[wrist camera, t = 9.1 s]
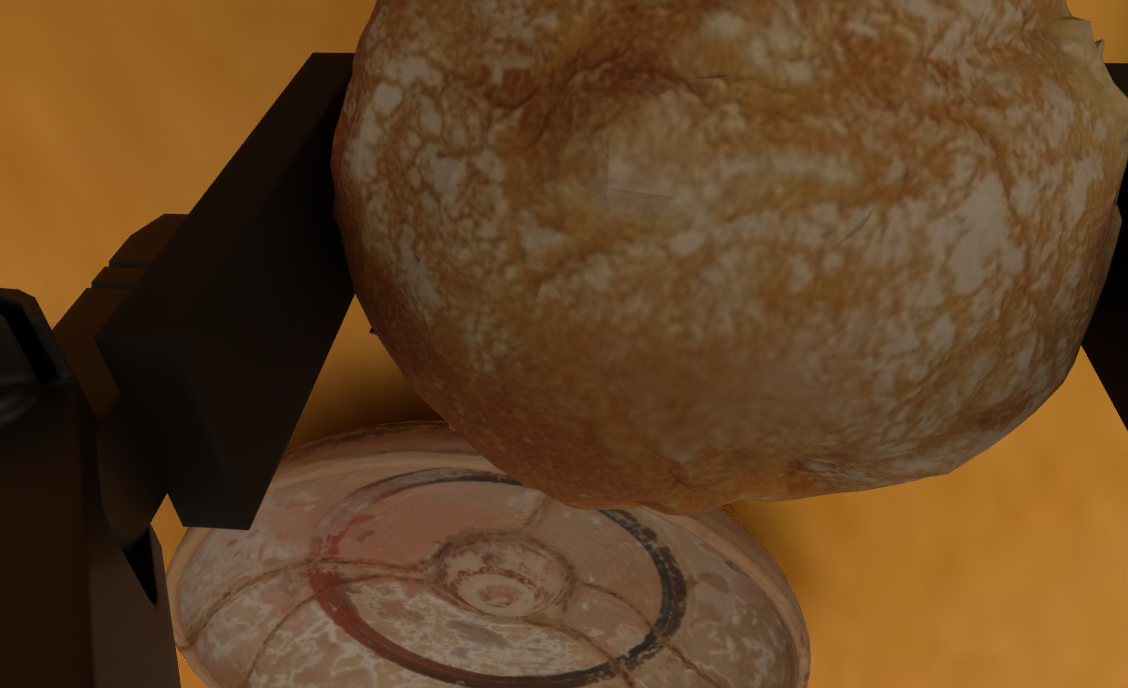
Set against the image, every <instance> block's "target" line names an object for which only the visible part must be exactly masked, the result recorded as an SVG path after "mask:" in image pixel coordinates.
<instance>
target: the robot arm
mask: <svg viewBox="0 0 1128 688" xmlns="http://www.w3.org/2000/svg"><path fill="white" fill-rule="evenodd" d="M354 55H355V53H312V54H311V56H310V57H309V58H308V60H307V61H306V62H305V63H304V65H303V66H302V67H301V69H300V70H299V71H298V73H297V74H296V75H295V76H294V78H293V79H292V80H291V82H290V83H289V84H288V86H287V87H286V88H285V90H284V91H283V92H282V93H281V95H280V96H279V97H278V99H277V100H276V101H275V103H274V104H273V105H272V106H271V108H270V109H269V110H268V112H267V113H266V114H265V116H264V117H263V118H262V119H261V121H260V122H259V123H258V125H257V126H256V127H255V129H254V130H253V131H252V132H251V134H250V135H249V136H248V138H247V139H246V140H245V142H244V143H243V144H242V145H241V147H240V148H239V149H238V151H237V152H236V153H235V155H234V156H233V157H232V158H231V160H230V161H229V162H228V164H227V165H226V166H225V168H224V169H223V170H222V172H221V173H220V174H219V175H218V177H217V178H216V179H215V181H214V182H213V183H212V185H211V186H210V187H209V188H208V190H207V191H206V192H205V194H204V195H203V196H202V198H201V199H200V200H199V201H198V203H197V204H196V205H195V207H194V208H193V209H192V211H191V212H190V213H189V214H163V215H162V216H160V217H159V218H157V219H156V220H154V221H153V222H151V223H149V224H148V225H146V226H145V227H143V228H142V229H140V230H138V231H137V232H135V233H134V234H132V235H131V236H130V237H129V238H128V239H127V240H126V242H125V243H124V244H123V245H122V246H121V248H120V249H119V250H118V251H117V252H116V254H115V255H114V256H113V257H112V258H111V260H110V261H109V267H104V268H103V269H102V270H101V272H100V273H99V274H98V275H97V276H96V278H95V279H94V280H93V281H92V282H91V283H92V287H91V288H86V290H85V291H84V292H83V293H82V294H81V296H80V297H79V298H78V299H77V300H76V302H75V303H74V304H73V305H72V306H71V308H70V309H69V310H68V311H67V312H66V314H65V315H64V316H63V317H62V318H61V320H60V321H59V322H58V323H57V324H56V326H55V327H54V328H53V329H52V330H51V328H50V326H49V324H48V322H47V320H46V318H45V316H44V314H43V312H42V310H41V308H40V306H39V304H38V302H37V300H36V299H35V297H33V296H31V295H29V294H27V293H24V292H22V291H20V290H18V289H6V288H0V688H181V683H180V676H179V669H178V662H177V655H176V648H175V641H174V634H173V627H172V619H171V612H170V605H169V598H168V591H167V584H166V577H165V570H164V563H163V556H162V548H161V545H160V542H159V540H158V538H157V536H156V534H155V532H154V530H153V528H152V526H151V524H150V523H151V521H152V519H153V517H154V516H155V514H156V512H157V510H158V508H159V507H160V505H161V503H162V501H163V499H164V498H165V496H166V494H167V493H168V495H169V497H170V499H171V501H172V504H173V506H174V508H175V510H176V512H177V514H178V516H179V518H180V520H181V523H182V525H183V526H185V527H201V528H218V529H235V530H250V528H251V525H252V523H253V521H254V519H255V516H256V514H257V512H258V510H259V507H260V505H261V503H262V501H263V498H264V496H265V494H266V492H267V489H268V487H269V485H270V483H271V481H272V478H273V476H274V474H275V472H276V469H277V467H278V465H279V463H280V460H281V458H282V456H283V454H284V451H285V449H286V447H287V445H288V442H289V440H290V438H291V436H292V433H293V431H294V429H295V427H296V425H297V422H298V420H299V418H300V416H301V413H302V411H303V409H304V407H305V404H306V402H307V400H308V398H309V395H310V393H311V391H312V389H313V386H314V384H315V382H316V380H317V377H318V375H319V373H320V371H321V369H322V366H323V364H324V362H325V360H326V357H327V355H328V353H329V351H330V348H331V346H332V344H333V342H334V339H335V337H336V335H337V333H338V330H339V328H340V326H341V324H342V321H343V319H344V317H345V315H346V313H347V310H348V308H349V306H350V304H351V301H352V299H353V297H354V295H355V292H354V289H353V285H352V281H351V277H350V273H349V269H348V265H347V261H346V257H345V253H344V249H343V244H342V239H341V234H340V229H339V226H338V224H337V222H336V220H335V218H334V216H333V214H332V213H333V202H334V184H333V178H332V173H331V167H330V163H331V153H332V144H333V137H334V133H335V130H336V127H337V123H338V120H339V116H340V113H341V110H342V106H343V103H344V99H345V95H346V91H347V87H348V84H349V82H350V79H351V77H352V74H353V58H354ZM1104 64H1105V66H1106V68H1107V70H1108V72H1109V74H1110V76H1111V79H1112V81H1113V83H1114V84H1115V85H1116V86H1117V87H1118V88H1119V89H1120V90H1121V91H1122V92H1123V93H1124V94H1125V96H1126V97H1127V98H1128V63H1104ZM1117 205H1118V209H1119V212H1120V216H1121V219H1122V223H1121V227H1120V231H1119V235H1118V239H1117V243H1116V247H1115V250H1114V254H1113V257H1112V261H1111V264H1110V268H1109V271H1108V275H1107V278H1106V281H1105V284H1104V286H1103V289H1102V292H1101V294H1100V297H1099V300H1098V302H1097V305H1096V308H1095V310H1094V313H1093V315H1092V318H1091V321H1090V323H1089V326H1088V328H1087V330H1086V333H1085V335H1084V338H1083V341H1082V343H1081V345H1082V347H1083V349H1084V351H1085V353H1086V355H1087V357H1088V358H1089V360H1090V362H1091V364H1092V366H1093V368H1094V369H1095V371H1096V373H1097V375H1098V377H1099V379H1100V381H1101V382H1102V384H1103V386H1104V388H1105V390H1106V392H1107V394H1108V395H1109V397H1110V399H1111V401H1112V403H1113V405H1114V406H1115V408H1116V410H1117V412H1118V414H1119V416H1120V418H1121V419H1122V421H1123V423H1124V425H1125V427H1126V429H1127V431H1128V159H1127V164H1126V168H1125V172H1124V175H1123V178H1122V182H1121V186H1120V190H1119V195H1118V199H1117Z"/></svg>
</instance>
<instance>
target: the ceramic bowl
mask: <svg viewBox="0 0 1128 688" xmlns="http://www.w3.org/2000/svg"><path fill="white" fill-rule="evenodd" d="M165 577H166V584H167V591H168V598H169V605H170V612H171V619H172V627H173V634H174V641H175V645H176V646H177V648H178V650H179V651H180V652H181V654H182V655H183V656H184V658H185V659H186V661H187V663H188V664H189V666H190V667H191V669H192V670H193V671H194V673H195V674H196V675H197V676H198V677H199V678H200V679H201V680H202V681H203V682H204V683H205V684H206V685H207V686H208V687H209V688H807V685H808V680H809V674H810V660H811V653H810V641H809V634H808V631H807V627H806V623H805V620H804V617H803V614H802V611H801V608H800V606H799V603H798V601H797V599H796V597H795V595H794V593H793V591H792V589H791V586H790V584H789V582H788V580H787V579H786V577H785V575H784V574H783V572H782V571H781V569H780V568H779V566H778V564H777V563H776V562H775V561H774V559H773V558H772V557H771V556H770V555H769V554H768V552H767V551H766V550H765V549H764V548H763V547H762V545H761V544H760V543H759V542H758V541H757V540H756V539H755V538H754V537H753V536H752V535H751V534H750V533H749V532H748V531H747V530H745V529H744V528H743V527H742V526H741V525H740V524H739V523H737V522H736V521H735V520H734V519H733V518H732V517H730V516H729V515H728V514H727V513H726V512H725V511H724V510H722V509H721V508H720V507H718V508H715V509H713V510H710V511H708V512H706V513H703V514H701V515H688V516H675V515H667V514H663V513H661V512H659V511H656V510H654V509H651V508H649V507H644V508H636V509H628V510H622V509H606V510H588V509H575V508H572V507H569V506H567V505H565V504H563V503H560V502H558V501H556V500H554V499H551V498H550V497H548V496H547V495H546V494H544V493H543V492H541V491H539V490H535V489H529V488H527V487H526V486H524V485H523V484H522V483H520V482H519V481H517V480H516V479H515V478H513V477H512V476H511V475H509V474H507V473H505V472H503V471H501V470H499V469H498V468H496V467H495V466H494V465H493V464H491V463H490V462H489V461H488V460H487V459H485V458H484V457H483V456H482V455H481V454H480V453H478V452H477V451H476V450H475V449H474V448H473V447H472V446H471V445H470V444H469V443H468V442H467V441H466V440H464V439H463V438H462V437H461V436H460V435H459V434H458V433H457V432H456V431H454V430H452V429H449V424H448V423H447V422H446V421H443V420H436V421H407V422H397V423H387V424H381V425H375V426H369V427H362V428H356V429H352V430H348V431H344V432H340V433H336V434H332V435H328V436H324V437H320V438H317V439H315V440H312V441H309V442H307V443H304V444H301V445H299V446H296V447H294V448H291V449H288V450H286V451H284V454H283V456H282V458H281V460H280V463H279V465H278V467H277V469H276V472H275V474H274V476H273V478H272V481H271V483H270V485H269V487H268V489H267V492H266V494H265V496H264V498H263V501H262V503H261V505H260V507H259V510H258V512H257V514H256V516H255V519H254V521H253V523H252V525H251V528H250V530H235V529H218V528H201V527H189V529H188V530H187V532H186V533H185V535H184V537H183V539H182V541H181V543H180V544H179V546H178V548H177V550H176V552H175V554H174V556H173V558H172V560H171V562H170V564H169V566H168V569H167V571H166V575H165Z"/></svg>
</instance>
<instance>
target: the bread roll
mask: <svg viewBox="0 0 1128 688" xmlns="http://www.w3.org/2000/svg"><path fill="white" fill-rule="evenodd" d="M1071 15H1072V14H1071V13H1070V12H1069V10H1068V8H1067V4H1066V0H377V2H376V5H375V7H374V10H373V12H372V15H371V17H370V20H369V21H368V23H367V25H366V27H365V29H364V31H363V33H362V34H361V36H360V39H359V43H358V46H357V49H356V52H355V55H354V58H353V74H352V77H351V79H350V82H349V84H348V87H347V91H346V95H345V99H344V103H343V106H342V110H341V113H340V116H339V120H338V123H337V127H336V130H335V133H334V137H333V144H332V153H331V163H330V167H331V173H332V178H333V184H334V202H333V213H332V214H333V216H334V218H335V220H336V222H337V224H338V226H339V229H340V234H341V239H342V244H343V249H344V253H345V257H346V261H347V265H348V269H349V273H350V277H351V281H352V285H353V289H354V292H355V294H356V296H357V298H358V300H359V302H360V304H361V306H362V308H363V310H364V312H365V314H366V316H367V318H368V320H369V323H370V325H371V327H372V328H371V330H370V331H369V333H372V334H375V335H377V336H378V338H379V339H380V341H381V342H382V344H383V345H384V347H385V348H386V350H387V351H388V353H389V354H390V356H391V357H392V359H393V360H394V362H395V364H396V365H397V367H398V368H399V369H400V371H401V373H402V374H403V375H404V377H405V378H406V380H407V381H408V383H409V384H410V386H411V387H412V389H413V390H414V391H415V392H416V393H417V394H418V395H419V396H420V397H421V398H422V399H423V400H424V401H425V402H426V403H427V404H428V405H429V406H430V407H431V408H432V409H433V410H434V411H435V412H437V413H438V414H439V415H440V416H441V417H442V418H443V419H444V420H445V421H446V422H447V423H448V424H449V429H452V430H454V431H456V432H457V433H458V434H459V435H460V436H461V437H462V438H463V439H464V440H466V441H467V442H468V443H469V444H470V445H471V446H472V447H473V448H474V449H475V450H476V451H477V452H478V453H480V454H481V455H482V456H483V457H484V458H485V459H487V460H488V461H489V462H490V463H491V464H493V465H494V466H495V467H496V468H498V469H499V470H501V471H503V472H505V473H507V474H509V475H511V476H512V477H513V478H515V479H516V480H517V481H519V482H520V483H522V484H523V485H524V486H526V487H527V488H529V489H535V490H539V491H541V492H543V493H544V494H546V495H547V496H548V497H550V498H551V499H554V500H556V501H558V502H560V503H563V504H565V505H567V506H569V507H572V508H575V509H588V510H606V509H622V510H628V509H636V508H644V507H649V508H651V509H654V510H656V511H659V512H661V513H663V514H667V515H675V516H688V515H701V514H703V513H706V512H708V511H710V510H713V509H715V508H718V507H720V506H723V505H725V504H728V503H729V502H737V501H785V500H795V499H802V498H808V497H814V496H819V495H825V494H831V493H841V492H854V491H864V490H870V489H875V488H881V487H886V486H891V485H897V484H901V483H906V482H911V481H915V480H919V479H922V478H925V477H930V476H936V475H942V474H948V473H950V472H952V471H953V470H955V469H956V468H958V467H959V466H961V465H963V464H964V463H966V462H967V461H969V460H970V459H972V458H974V457H975V456H977V455H978V454H980V453H981V452H983V451H985V450H987V449H988V448H990V447H991V446H992V445H994V444H995V443H997V442H998V441H999V440H1001V439H1002V438H1003V437H1005V436H1006V435H1007V434H1009V433H1010V432H1012V431H1013V430H1014V429H1015V428H1016V427H1018V426H1019V425H1020V424H1021V423H1022V422H1024V421H1025V420H1026V419H1027V418H1028V417H1029V416H1031V415H1032V414H1033V413H1034V412H1035V411H1036V410H1037V409H1038V408H1039V407H1040V406H1041V405H1042V404H1043V403H1044V402H1045V401H1046V400H1047V399H1048V398H1049V397H1050V396H1051V395H1052V394H1053V393H1054V392H1055V391H1056V390H1057V389H1058V388H1059V387H1060V386H1061V385H1062V384H1063V382H1064V380H1065V379H1066V377H1067V375H1068V373H1069V371H1070V370H1071V368H1072V366H1073V364H1074V363H1075V360H1076V357H1077V354H1078V352H1079V349H1080V346H1081V343H1082V341H1083V338H1084V335H1085V333H1086V330H1087V328H1088V326H1089V323H1090V321H1091V318H1092V315H1093V313H1094V310H1095V308H1096V305H1097V302H1098V300H1099V297H1100V294H1101V292H1102V289H1103V286H1104V284H1105V281H1106V278H1107V275H1108V271H1109V268H1110V264H1111V261H1112V257H1113V254H1114V250H1115V247H1116V243H1117V239H1118V235H1119V231H1120V227H1121V223H1122V219H1121V216H1120V212H1119V209H1118V205H1117V199H1118V195H1119V190H1120V186H1121V182H1122V178H1123V175H1124V172H1125V168H1126V164H1127V159H1128V98H1127V97H1126V96H1125V94H1124V93H1123V92H1122V91H1121V90H1120V89H1119V88H1118V87H1117V86H1116V85H1115V84H1114V83H1113V81H1112V79H1111V76H1110V74H1109V72H1108V70H1107V68H1106V66H1105V64H1104V62H1103V60H1102V59H1103V50H1104V41H1103V39H1101V40H1099V41H1096V42H1094V40H1093V35H1092V28H1091V21H1087V20H1084V19H1080V18H1076V17H1073V16H1071Z"/></svg>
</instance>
